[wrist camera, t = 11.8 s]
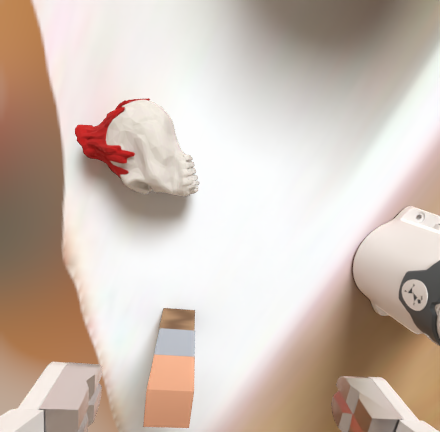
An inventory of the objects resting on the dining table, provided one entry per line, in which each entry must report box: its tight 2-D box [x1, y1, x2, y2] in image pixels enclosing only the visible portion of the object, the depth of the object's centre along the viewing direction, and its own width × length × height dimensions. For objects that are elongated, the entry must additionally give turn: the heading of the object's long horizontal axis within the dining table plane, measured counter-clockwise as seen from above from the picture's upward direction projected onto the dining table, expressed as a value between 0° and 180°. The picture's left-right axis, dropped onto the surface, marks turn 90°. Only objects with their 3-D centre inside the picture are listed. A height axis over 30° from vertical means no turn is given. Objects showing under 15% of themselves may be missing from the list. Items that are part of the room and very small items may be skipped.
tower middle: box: [154, 328, 195, 357], centre depth 36 cm, size 5×5×5 cm
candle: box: [75, 99, 199, 196], centre depth 33 cm, size 9×11×15 cm
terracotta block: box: [143, 354, 195, 428], centre depth 31 cm, size 5×5×5 cm
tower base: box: [159, 308, 195, 331], centre depth 41 cm, size 5×5×5 cm
